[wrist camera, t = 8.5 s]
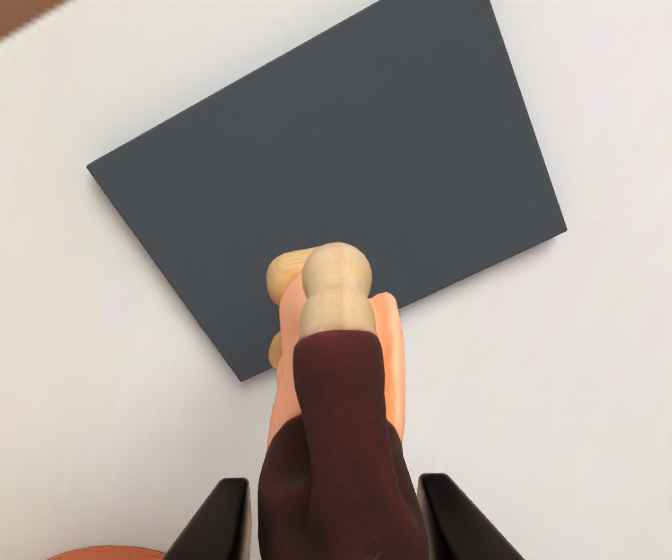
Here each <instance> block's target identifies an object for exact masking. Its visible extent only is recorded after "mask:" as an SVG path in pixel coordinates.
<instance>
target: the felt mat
mask: <svg viewBox="0 0 672 560" xmlns="http://www.w3.org/2000/svg"><path fill="white" fill-rule="evenodd" d="M87 169H88V170H89V171H90V173H91V174H92V176H93V177H94V178H95V180H96V181H97V183H98V184H99V185H100V187H101V188H102V190H103V191H104V192H105V194H106V195H107V196H108V198H109V199H110V201H111V202H112V203H113V205H114V206H115V208H116V209H117V210H118V212H119V213H120V215H121V216H122V217H123V219H124V220H125V221H126V223H127V224H128V226H129V227H130V228H131V230H132V231H133V233H134V234H135V235H136V237H137V238H138V240H139V241H140V242H141V244H142V245H143V246H144V248H145V249H146V251H147V252H148V253H149V255H150V256H151V258H152V259H153V260H154V262H155V263H156V265H157V266H158V267H159V269H160V270H161V271H162V273H163V274H164V276H165V277H166V278H167V280H168V281H169V283H170V284H171V285H172V287H173V288H174V290H175V291H176V292H177V294H178V295H179V297H180V298H181V299H182V301H183V302H184V303H185V305H186V306H187V308H188V309H189V310H190V312H191V313H192V315H193V316H194V317H195V319H196V320H197V322H198V323H199V324H200V326H201V327H202V328H203V330H204V331H205V333H206V334H207V335H208V337H209V338H210V340H211V341H212V342H213V344H214V345H215V347H216V348H217V349H218V351H219V352H220V353H221V355H222V356H223V358H224V359H225V360H226V362H227V363H228V365H229V366H230V367H231V369H232V370H233V372H234V373H235V374H236V376H237V377H238V378H239V380H240V381H244V380H246V379H248V378H250V377H253V376H255V375H257V374H259V373H261V372H263V371H266V370H268V369H270V368H272V365H271V363H270V361H269V349H270V346H271V343H272V340H273V338H274V336H275V335H276V334H277V333H278V332H280V331H281V328H280V314H279V308H280V306H278V305H277V304H275V302H274V301H273V300H272V299H271V297H270V295H269V293H268V290H267V280H266V275H267V270H268V267H269V265H270V264H271V262H272V261H273V260H274V259H275V258H276V257H278V256H280V255H282V254H284V253H288V252H293V251H297V250H303V249H309V248H314V247H318V246H322V245H325V244H327V243H334V242H341V243H346V244H349V245H351V246H353V247H355V248H357V249H358V250H359V251H360V252H362V253H363V254H364V255H365V257H366V259H367V260H368V262H369V264H370V268H371V271H372V283H371V288H370V292H369V295H368V297H367V298H368V299H370V298H373V297H374V296H376V295H377V294H382V293H385V292H388V293H390V294H391V295H392V296H394V297H395V299H396V302H397V307H398V309H399V308H401V307H404V306H406V305H408V304H410V303H412V302H414V301H417V300H419V299H421V298H423V297H425V296H427V295H430V294H432V293H434V292H436V291H438V290H440V289H442V288H445V287H447V286H449V285H451V284H453V283H455V282H458V281H460V280H462V279H464V278H466V277H468V276H471V275H473V274H475V273H477V272H479V271H481V270H484V269H486V268H488V267H490V266H492V265H494V264H496V263H499V262H501V261H503V260H505V259H507V258H509V257H512V256H514V255H516V254H518V253H520V252H522V251H525V250H527V249H529V248H531V247H533V246H535V245H537V244H540V243H542V242H544V241H546V240H548V239H550V238H553V237H555V236H557V235H559V234H561V233H563V232H566V231H567V227H566V224H565V221H564V218H563V215H562V212H561V210H560V207H559V204H558V201H557V198H556V195H555V192H554V189H553V186H552V183H551V180H550V177H549V174H548V171H547V168H546V165H545V162H544V159H543V156H542V153H541V151H540V148H539V145H538V142H537V139H536V136H535V133H534V130H533V127H532V124H531V121H530V118H529V115H528V112H527V109H526V106H525V103H524V100H523V97H522V94H521V91H520V89H519V86H518V83H517V80H516V77H515V74H514V71H513V68H512V65H511V62H510V59H509V56H508V53H507V50H506V47H505V44H504V41H503V38H502V35H501V32H500V30H499V27H498V24H497V21H496V18H495V15H494V12H493V9H492V6H491V3H490V0H379V1H377V2H376V3H374V4H372V5H370V6H369V7H367V8H365V9H363V10H362V11H360V12H358V13H356V14H354V15H353V16H351V17H349V18H347V19H346V20H344V21H342V22H340V23H338V24H337V25H335V26H333V27H331V28H330V29H328V30H326V31H324V32H322V33H321V34H319V35H317V36H315V37H314V38H312V39H310V40H308V41H306V42H305V43H303V44H301V45H299V46H298V47H296V48H294V49H292V50H290V51H289V52H287V53H285V54H283V55H282V56H280V57H278V58H276V59H275V60H273V61H271V62H269V63H267V64H266V65H264V66H262V67H260V68H259V69H257V70H255V71H253V72H251V73H250V74H248V75H246V76H244V77H243V78H241V79H239V80H237V81H235V82H234V83H232V84H230V85H228V86H227V87H225V88H223V89H221V90H219V91H218V92H216V93H214V94H212V95H211V96H209V97H207V98H205V99H203V100H202V101H200V102H198V103H196V104H195V105H193V106H191V107H189V108H187V109H186V110H184V111H182V112H180V113H179V114H177V115H175V116H173V117H172V118H170V119H168V120H166V121H164V122H163V123H161V124H159V125H157V126H156V127H154V128H152V129H150V130H148V131H147V132H145V133H143V134H141V135H140V136H138V137H136V138H134V139H132V140H131V141H129V142H127V143H125V144H124V145H122V146H120V147H118V148H116V149H115V150H113V151H111V152H109V153H108V154H106V155H104V156H102V157H100V158H99V159H97V160H95V161H93V162H92V163H90V164H88V165H87Z"/></svg>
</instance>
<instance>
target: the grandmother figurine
mask: <svg viewBox="0 0 672 560" xmlns="http://www.w3.org/2000/svg"><path fill="white" fill-rule="evenodd" d="M266 280H267V290H268V293H269V295H270V297H271V299H272V300H273V301H274V302H275V304H277V305H278V306H280V308H279V314H280V328H281V331H280V332H278V333H277V334H276V335H275V336H274V338H273V340H272V343H271V346H270V349H269V361H270V363H271V365H272V367H273V368H274V369H275V371H276V372H277V393H276V397H275V401H274V405H273V409H272V415H271V421H270V428H269V436H268V443H267V453H266V456H265V460H264V463H263V466H262V470H261V474H260V478H259V483H258V540H259V549H260V555H261V559H262V560H429V543H428V535H427V530H426V526H425V522H424V517H423V514H422V510H421V507H420V504H419V502H418V499H417V496H416V493H415V490H414V487H413V484H412V482H411V478H410V475H409V472H408V469H407V466H406V463H405V460H404V457H403V450H402V440H403V433H404V424H405V351H404V341H403V333H402V325H401V320H400V316H399V312H398V307H397V302H396V299H395V297H394V296H392V295H391V294H390V293H388V292H385V293H382V294H377V295H376V296H374V297H373V298H370V299H368V298H367V297H368V295H369V292H370V288H371V283H372V271H371V268H370V264H369V262H368V260H367V259H366V257H365V255H364V254H363V253H362V252H360V251H359V250H358V249H357V248H355V247H353V246H351V245H349V244H346V243H341V242H334V243H327V244H325V245H322V246H318V247H314V248H309V249H303V250H297V251H293V252H288V253H284V254H282V255H280V256H278V257H276V258H275V259H274V260H273V261H272V262H271V264H270V265H269V267H268V270H267V275H266Z"/></svg>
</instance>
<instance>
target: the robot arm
mask: <svg viewBox="0 0 672 560" xmlns="http://www.w3.org/2000/svg"><path fill="white" fill-rule="evenodd" d="M417 499H418V502H419V504H420V507H421V510H422V514H423V517H424V522H425V526H426V530H427V535H428V543H429V560H525V559H524V558H523V557H522V556H521V555H520V554H519V553H518V552H517V551H516V549H515V548H514V547H513V546H512V545H511V544H510V543H509V542H508V541H507V540H506V538H505V537H504V536H503V535H502V534H501V533H500V532H499V531H498V530H497V529H496V527H495V526H494V525H493V524H492V523H491V522H490V521H489V520H488V519H487V518H486V516H485V515H484V514H483V513H482V512H481V511H480V510H479V509H478V508H477V507H476V505H475V504H474V503H473V502H472V501H471V500H470V499H469V498H468V497H467V496H466V495H465V493H464V492H463V491H462V490H461V489H460V488H459V487H458V486H457V485H456V484H455V482H454V481H453V480H452V479H451V478H450V477H449V476H448V475H447V474H445V473H423V474H421V475H420V477H419V480H418V488H417ZM251 527H252V517H251V503H250V489H249V481H248V480H247V479H246V478H224V479H222V480H220V481H219V482H218V484H217V485H216V487H215V488H214V489H213V491H212V492H211V493H210V495H209V496H208V497H207V499H206V500H205V501H204V503H203V504H202V505H201V507H200V508H199V509H198V511H197V512H196V514H195V515H194V516H193V518H192V519H191V520H190V522H189V523H188V524H187V526H186V527H185V528H184V530H183V531H182V532H181V534H180V535H179V537H178V538H177V539H176V541H175V542H174V543H173V545H172V546H171V547H170V549H169V550H168V551H167V553H166V554H165V555H164V557H163V558H162V560H249V557H250V543H251Z"/></svg>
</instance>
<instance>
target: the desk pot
mask: <svg viewBox="0 0 672 560" xmlns="http://www.w3.org/2000/svg"><path fill="white" fill-rule="evenodd" d="M164 555H165V553H162V552H159V551H154V550H149V549H144V548H137V547H128V546H100V547H89V548H83V549H78V550H73V551H70V552H66V553H63V554H60V555H57V556H55V557H52V558H50V559H48V560H162V558H163V557H164Z"/></svg>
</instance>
